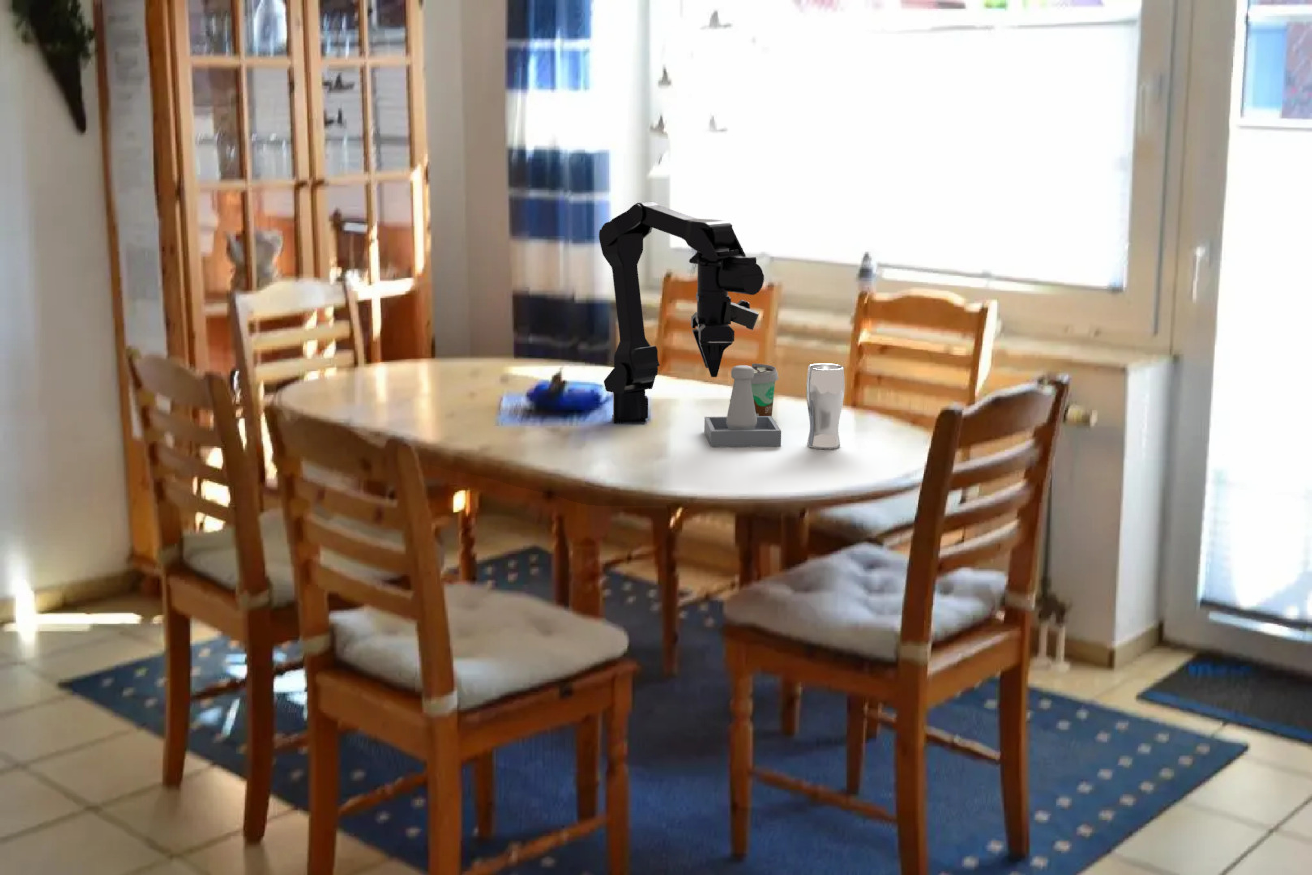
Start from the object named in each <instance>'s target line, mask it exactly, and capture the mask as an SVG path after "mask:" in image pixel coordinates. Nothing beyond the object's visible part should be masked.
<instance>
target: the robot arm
mask: <svg viewBox="0 0 1312 875" xmlns="http://www.w3.org/2000/svg"><path fill="white" fill-rule="evenodd" d="M653 229H655V230H659V231H661V232H663V233H666V234H669V235H671V236H675V237H677V238H680V239H682V240H684V241H685V243H686V245H688V247H690V248H691V249H693V250H694V251H696V253H695V254H694V255H693V256H692V257H690V258H689V260H688V262H689V263H690V264H695V265H697V282H696V283H697V284H696V285H697V287H696V290H697V292H696V293H695V299H696V311H695V312H694V313H693V314H692V315H691V317H690V327H691V332H692V334H693V337H694V340H695V342H696V344H697V348H698V350H699V352H700V356H701V359H702V361H703V363H704V367H705V368H706V369H708V373H709V374H710V377H711V378H717V377H718V374H719V371H720V366H721V362H722V358H723V354H724V351H725V350H726V349H727V348H729V346H732V344H733V343H734V342H735V330H734V329H733V327H731V326H730V325H732V323H735V324H737V325H739V326H742V327H745V328H746V329H749V330H751V331H753V330H754V328H755V325H756V323H757V321H758V319H759V315H760V314H759V313H758V311H756V310H754V309H751V305H750V302H749V301H747V300H743V299H740V301H738V302H737V303H735V302H732V298H731V296H730V295H729V293H734V294H735V293H736V294H742V295H749V296H754V295H757V294H758V293H759V292H760V291H761V290H762V288H763V285H764V281H765V275H764V273H763V269H762V267H761V265H759V264H757V257H756V256H746V253H745V252H744V248H743V246H742V245H741V243H740V241H739V239H738V237H737V235H736V233H735V231H734V229H733V224H732V223H731V222H729V221H728V220H724V219H723V220H722V219H710V218H709V219H707V218H696V217H693V216H691V215H687V214H685V213H682V212H679V211H676V210H673V209H671V208H668V207H665V206H662V205H660V204H658V203H656V202H654V201H647V202H646V201H644V202H643V201H642V202H636V203H634V204H633V205H632V206H631V207H630V208H629V209H627V210H626V211H623V212H622V213H621V214H619V215H617V216H616V217H613V218H612V219H611V220H610V221H607V222H605V223H604V224H603V225H602V226H601V229H599V230H598V231H599V232H598V239H599V243H600V249H601V253H602V256H603V257H604V259H605V260H606V261H607V263H608V265H609V266H610V268H611V270H612V279H613V280H612V281H613V289H614V290H613V291H614V296H615V298H614V299H615V306H616V307H615V308H616V314H617V315H616V317H617V325H618V326H617V327H618V333H619V334H618V335H619V342H618V345H617V348H616V349H615V352H614V354H613V369H612V370H611V371H610V372H609V374H607V376H606V377H605V378H604V380H603V386H604V389H605V391H606V392H609V393H612V415H611V417H612V418H611V419H612V424H646V423H647V419H648V418H649V397H648V395H646V390H652V389H653V387H654V383H655V380H656V377H657V376H658V372H659V367H660V365H661V364H660V362H659V358H658V357H659V356H658V347H657V346H656V345H652V346H651V344H650V343H649V341H648V340H647V339H646V336H645V335H646V334H645V324H644V317H643V307H642V298H641V287H640V279H639V271H638V264H639V262H640V259H641V256H642V255H643V254H642V253H643V252H644V239H645V238H647V237H648V236H649V235H650V234H651V233H652V230H653Z"/></svg>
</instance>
